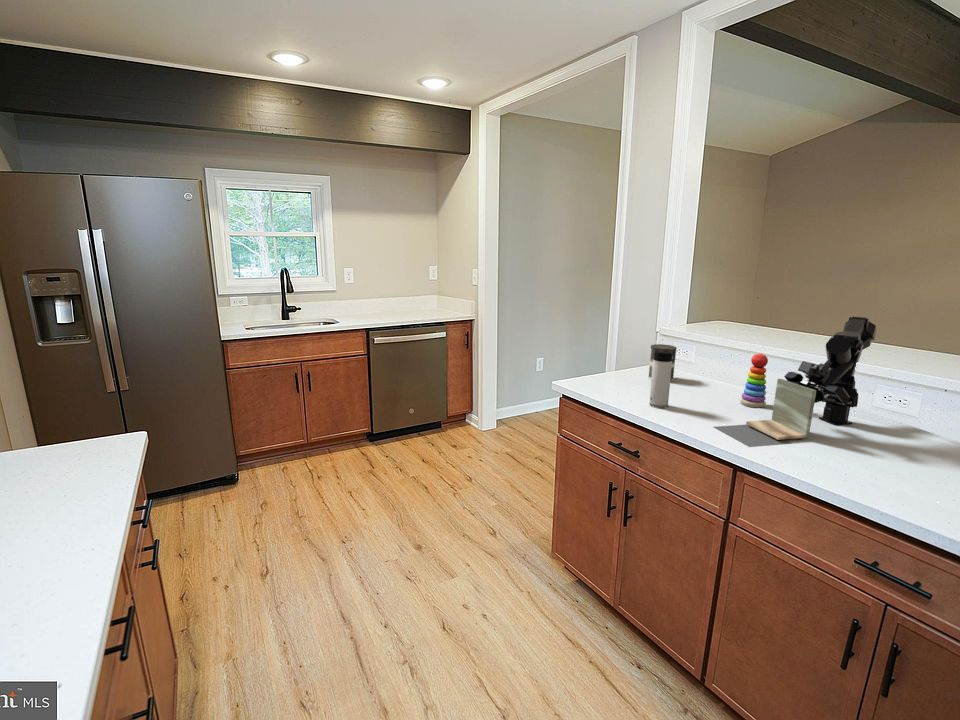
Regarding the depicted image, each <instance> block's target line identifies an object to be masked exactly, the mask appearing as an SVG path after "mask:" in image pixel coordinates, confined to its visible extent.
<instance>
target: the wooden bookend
mask: <svg viewBox="0 0 960 720" xmlns="http://www.w3.org/2000/svg"><path fill="white" fill-rule="evenodd" d="M815 396H816V390H813V389H810V388H807V387H804V386H801V385H798V384H795V383H792V382H789V381H787V380H786V379H783V378H777V381H776V388H775V394H774V401H773V407H772V414H771V419H766V420H765V419H764V420H749V421H746V422H745V423H746V424H747V425H748V426H749V427H753V428H755V429H757V430H760V431H762V432H764V433H766V434H768V435H770V436H772V437H774V438H775V439H776V440H778V441H780V440H781V439H784V440H790V439H791V440H792V439H799V440H802V439H804V438H806V437H807V438H808V437H810V431H811V426H812V420H813V414H814V413H813V412H814V408H815V407H814V406H815V403H814V402H815Z"/></svg>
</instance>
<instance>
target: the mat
mask: <svg viewBox="0 0 960 720" xmlns="http://www.w3.org/2000/svg"><path fill="white" fill-rule="evenodd" d="M713 428H714V429H716V430H717V431H719V432H721V433H723V434H724V435H727V436H728V437H729V438H732V439H733V440H735V441H737V442H739V443H741V444H742V445H744V446H747V447H748V448H755V447H756V448H757V447H765V446H766V447H767V446H778V445H779V446H780V445H790V444H793V443H792V442H791V441H788V440H787V439H781V440H780V441H778V440H776V439H775V438H774V437H772V436H770V435H768V434H766V433H764V432H762V431H760V430H757V429H755V428H753V427H749V426H748V425H747V424H736V425H735V424H734V425H719V426H713Z"/></svg>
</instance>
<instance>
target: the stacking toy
mask: <svg viewBox="0 0 960 720" xmlns="http://www.w3.org/2000/svg"><path fill="white" fill-rule="evenodd" d="M750 361H751V364H752V366H751V367H749V372H748V374H747V376H748V377H747V378H746V382H745V384H744V386H745V387H744V389H743V393H742V394H741V398H740V402H739V403H740V404H742V405H743V406H746V407H749V408H763V407H765V406H766V405H767V403H766V398H767V397H766V394H767V392H766V389H767V386H766V384H767V380H766V378H767V375H766V373H767V368H766V366H767V364H768V362H769V358H768V357H767V355H765V354H763V353H756V354H754V355H752V357H751V360H750Z"/></svg>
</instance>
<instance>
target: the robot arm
mask: <svg viewBox="0 0 960 720" xmlns="http://www.w3.org/2000/svg"><path fill="white" fill-rule="evenodd" d="M876 336H877V325H876V324H874V323H873V322H871V321H870V319H869V318H867V317H865V316H864V317H863V316H849V318H848V321H846V322H845V323H844V326H843V330H842V331H837V332H836V333H835V334H833V336H832V337H829V340H828V341H827V342H826V344H825V351H826V359H827V360H826V361H825V362H824V363H819V364H815V363H813V362H809V361H805V360H802V362H801V363H800V365H799V367H798V369H797V371H799V372H802V373H804V374H805V375H804V376H805V377H804V376H803V375H802V374H801V373H798V372H795V371H788V372H787V373H786V374H785V375H784V376H783V377H784V378H785V380H786V381H789V382H792V383H795V384H798V385H801V386H804V387H807V388H810V389H813V390H816V396H815V402H814V404H817V403H819V402H821V403H825V406H824V407H823V413H822V416H819V417H818V419H819V420H821V421H823V422H827V423H829V424H831V425H834V426H835V425H836V426H839V425H840V426H841V425H842V426H843V425H852V424H853V421H850V420H849V414H850V410H851V408H852V409H853V408H857V407H858V402H859V393H858V389H857V388H856V380H855V376H854V375H855V372H856V370H855V367H856V363H857V362H858V363H859V361H860V358H861V355H862V352H863V350H865V349H867V348H869V347H870V346H871V344H872V341H875V338H876ZM856 368H857V367H856Z"/></svg>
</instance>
